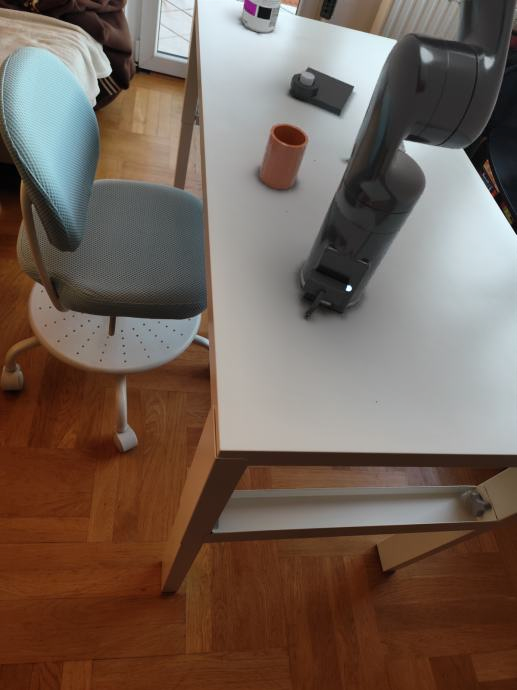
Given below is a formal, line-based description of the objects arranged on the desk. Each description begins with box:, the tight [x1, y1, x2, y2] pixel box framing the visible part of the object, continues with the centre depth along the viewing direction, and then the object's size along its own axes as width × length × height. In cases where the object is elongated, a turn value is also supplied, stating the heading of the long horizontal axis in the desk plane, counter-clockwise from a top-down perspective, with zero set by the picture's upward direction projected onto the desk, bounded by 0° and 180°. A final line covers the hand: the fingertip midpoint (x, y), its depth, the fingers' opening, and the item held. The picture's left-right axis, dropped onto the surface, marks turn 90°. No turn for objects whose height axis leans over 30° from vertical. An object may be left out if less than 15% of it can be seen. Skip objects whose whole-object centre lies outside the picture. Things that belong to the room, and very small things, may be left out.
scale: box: [289, 66, 355, 117], centre depth 102 cm, size 13×12×3 cm
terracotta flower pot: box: [258, 123, 310, 190], centre depth 80 cm, size 6×6×8 cm
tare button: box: [299, 71, 315, 86], centre depth 98 cm, size 3×3×2 cm
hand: (325, 17), depth 89 cm, fingers closed
